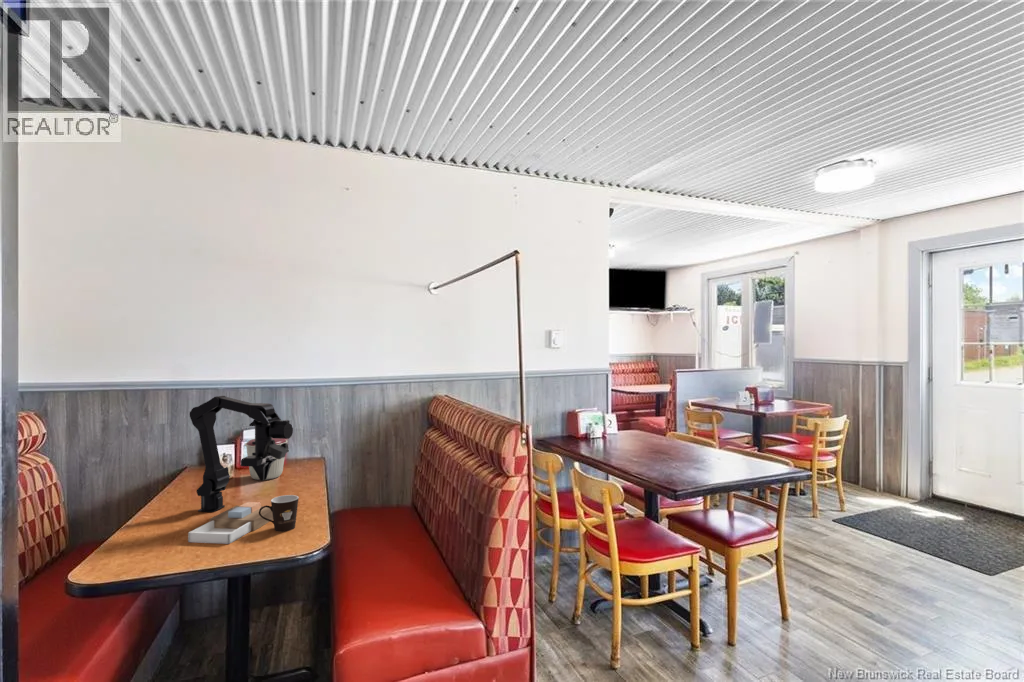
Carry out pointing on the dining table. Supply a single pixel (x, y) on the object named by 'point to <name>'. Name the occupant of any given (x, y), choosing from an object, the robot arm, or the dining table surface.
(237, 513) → the slate tile
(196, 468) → the dining table surface
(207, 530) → the tray
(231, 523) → the walnut board
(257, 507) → the terracotta tile
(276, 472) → the canister
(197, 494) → the robot arm
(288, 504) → the coffee mug
